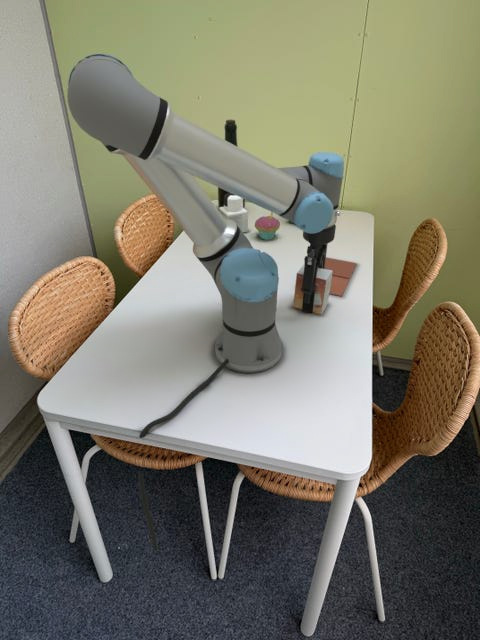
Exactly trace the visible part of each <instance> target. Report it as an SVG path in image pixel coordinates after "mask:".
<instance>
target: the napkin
mask: <svg viewBox="0 0 480 640" xmlns="http://www.w3.org/2000/svg"><path fill="white" fill-rule="evenodd" d="M356 266H357V262H353V261H347V260H342V259H336V258H330V257H326V261H325V269H326V270H332V271H333V273H332V279H331V285H330V292H329V295H332V296H336V297H337V296H338V297H343V295H344V293H345V291H346V288H347V286H348V284H349V281H350V280H351V277H352V275H353V274H354V270H355V268H356Z"/></svg>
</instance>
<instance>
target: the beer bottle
mask: <svg viewBox="0 0 480 640" xmlns="http://www.w3.org/2000/svg"><path fill="white" fill-rule="evenodd" d="M237 131H238V126H237V123H236V120H235V119H226V120H225V123H224V140H226V141H227V142H229V143H231V144H233V145H235V146H237V147H238V146H239V145H238V132H237ZM227 193H230V192H228V191H226V190H223V189H221V188H219V187H217V209H218V211H219V208H220V207H224V195H225V194H227ZM243 208H244V209H246V200H245V199H243Z"/></svg>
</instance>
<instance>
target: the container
mask: <svg viewBox="0 0 480 640" xmlns="http://www.w3.org/2000/svg"><path fill="white" fill-rule="evenodd" d="M218 211H219V212H220V214H221V215H222V216H223V218H224V219H230V220H233V221H234V222H235V223H236V224H237V226H238V227H239V228H240V230H241V231H242V233H243V234H244V233H247V232H248V231H249V211H248V210H247V209H246V208H245V209H244V208H243V198H241V197H238V196H236V195H234V194H232V193H227V194H225V195H224V207H220V208H219V210H218Z"/></svg>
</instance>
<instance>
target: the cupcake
mask: <svg viewBox="0 0 480 640" xmlns="http://www.w3.org/2000/svg"><path fill="white" fill-rule="evenodd" d="M273 214H274V213H273V212H271V211H270V215H267V216H262V217H258V219H256V220H255V222H254V227H255V229H256V230H257V231H258V234H259V237H260V239H261V240H265V241H266V240H272V239H274V237H275V235H276V233H277V231H278V230H280V227H281V222H280V221H279V220H278V219H277V218H275V217H274V216H273Z"/></svg>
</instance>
